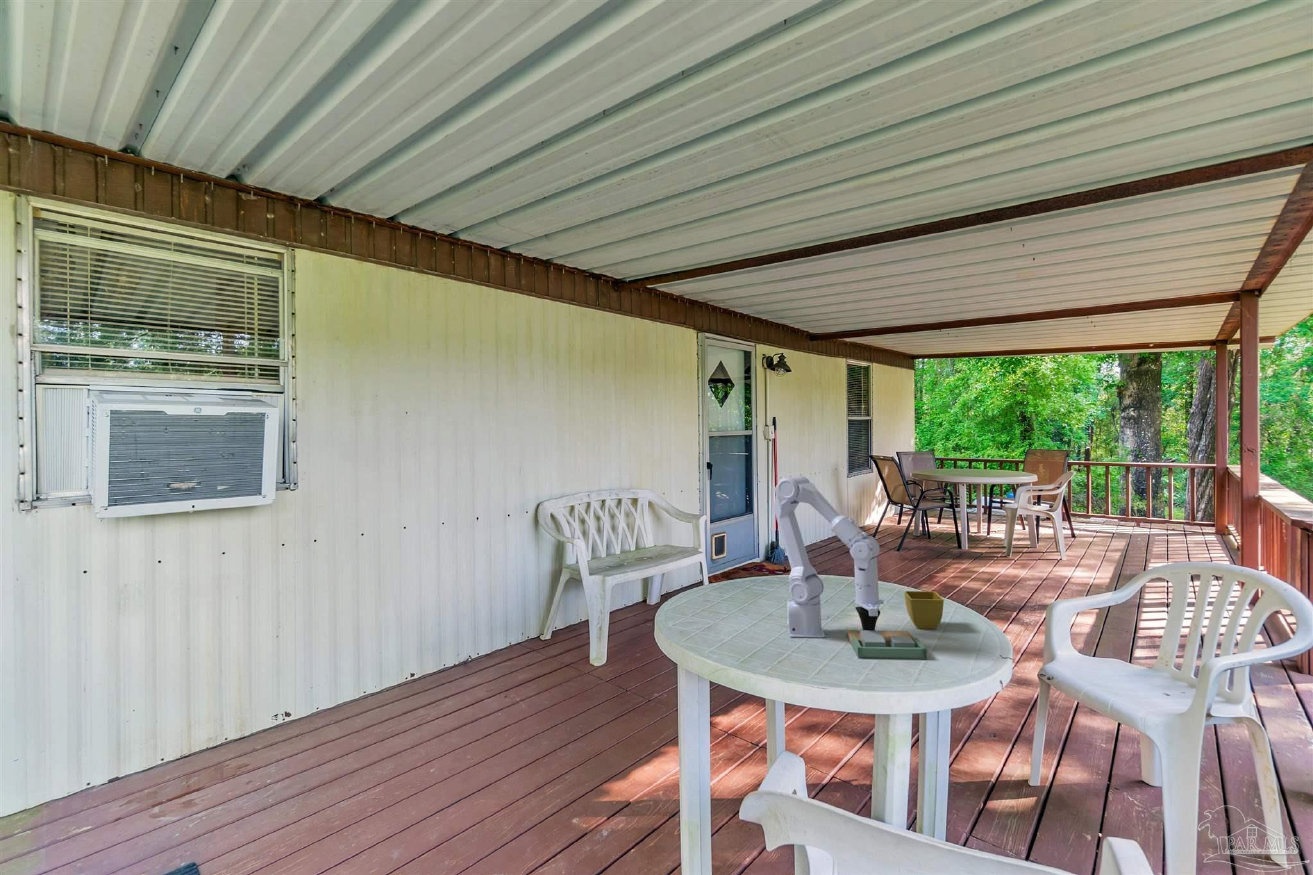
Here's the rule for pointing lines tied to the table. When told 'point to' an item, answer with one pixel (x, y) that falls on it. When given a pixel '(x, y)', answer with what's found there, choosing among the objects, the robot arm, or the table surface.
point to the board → (885, 633)
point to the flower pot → (924, 608)
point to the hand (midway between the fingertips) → (868, 635)
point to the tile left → (872, 638)
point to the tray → (890, 651)
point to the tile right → (901, 641)
